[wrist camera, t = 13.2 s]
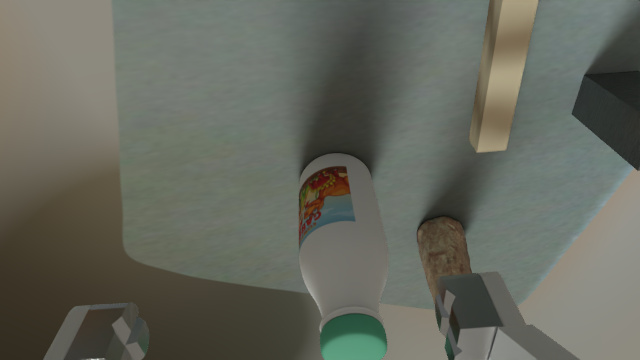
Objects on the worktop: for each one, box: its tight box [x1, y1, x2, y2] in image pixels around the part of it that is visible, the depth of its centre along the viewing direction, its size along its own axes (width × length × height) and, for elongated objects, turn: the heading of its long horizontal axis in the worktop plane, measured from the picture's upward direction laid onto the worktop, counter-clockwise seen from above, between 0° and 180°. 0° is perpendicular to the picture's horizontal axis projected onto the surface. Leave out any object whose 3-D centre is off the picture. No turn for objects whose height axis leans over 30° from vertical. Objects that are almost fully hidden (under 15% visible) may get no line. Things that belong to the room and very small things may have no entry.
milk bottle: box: [299, 153, 389, 360], centre depth 36 cm, size 8×8×20 cm
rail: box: [469, 0, 538, 153], centre depth 35 cm, size 22×3×3 cm, turn 5°
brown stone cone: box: [417, 216, 472, 304], centre depth 42 cm, size 6×18×6 cm
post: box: [572, 71, 640, 170], centre depth 35 cm, size 4×5×10 cm
